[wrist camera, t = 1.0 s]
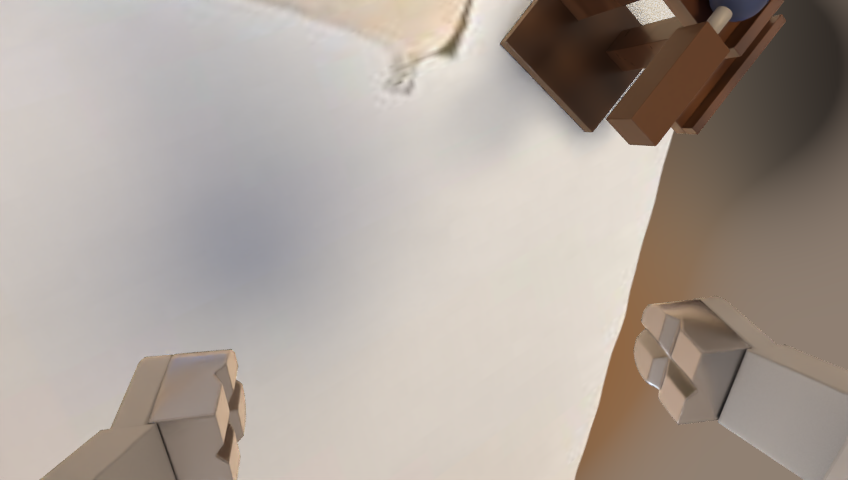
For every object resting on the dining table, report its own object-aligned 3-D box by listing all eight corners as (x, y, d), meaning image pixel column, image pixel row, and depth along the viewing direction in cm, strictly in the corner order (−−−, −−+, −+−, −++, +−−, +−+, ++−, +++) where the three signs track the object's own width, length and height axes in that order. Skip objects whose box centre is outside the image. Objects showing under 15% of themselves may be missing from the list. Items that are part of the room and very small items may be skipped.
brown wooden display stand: (584, 132, 59) (802, 138, 35) (499, 43, 54) (683, -21, 30) (650, 48, 59) (912, -3, 35) (571, -48, 54) (810, -184, 30)
